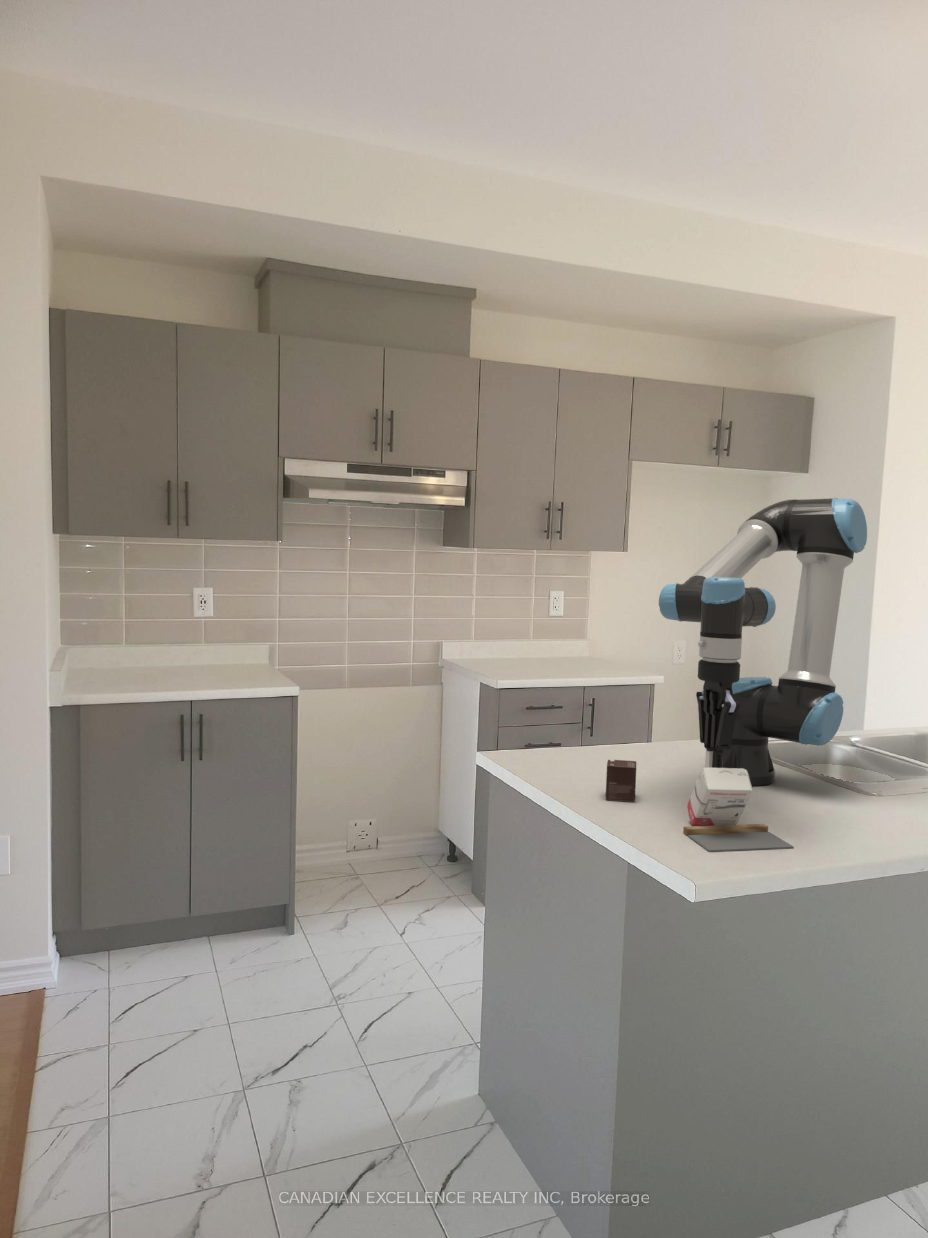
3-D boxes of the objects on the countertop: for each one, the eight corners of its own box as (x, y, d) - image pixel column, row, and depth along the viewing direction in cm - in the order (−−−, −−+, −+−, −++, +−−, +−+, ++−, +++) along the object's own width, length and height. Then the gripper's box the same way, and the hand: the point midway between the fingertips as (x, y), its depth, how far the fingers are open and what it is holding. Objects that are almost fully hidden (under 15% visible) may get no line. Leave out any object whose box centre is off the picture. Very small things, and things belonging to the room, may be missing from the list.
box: (635, 803, 177) (636, 767, 177) (605, 800, 178) (606, 765, 178) (635, 795, 183) (636, 760, 182) (606, 792, 184) (607, 758, 184)
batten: (763, 830, 161) (763, 823, 161) (767, 832, 160) (768, 826, 160) (683, 833, 158) (683, 826, 158) (686, 835, 157) (687, 829, 157)
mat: (769, 833, 159) (769, 832, 159) (793, 848, 151) (793, 846, 151) (688, 836, 156) (688, 835, 156) (708, 852, 148) (708, 850, 148)
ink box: (690, 826, 163) (706, 789, 154) (685, 804, 166) (700, 767, 158) (736, 827, 163) (754, 790, 155) (730, 805, 166) (747, 768, 158)
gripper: (685, 655, 168) (679, 775, 169) (716, 664, 155) (709, 794, 156) (721, 655, 169) (715, 775, 171) (755, 664, 156) (748, 793, 158)
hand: (712, 784), depth 164 cm, fingers closed
